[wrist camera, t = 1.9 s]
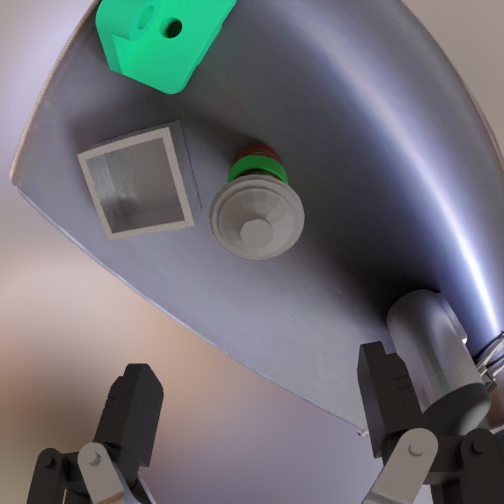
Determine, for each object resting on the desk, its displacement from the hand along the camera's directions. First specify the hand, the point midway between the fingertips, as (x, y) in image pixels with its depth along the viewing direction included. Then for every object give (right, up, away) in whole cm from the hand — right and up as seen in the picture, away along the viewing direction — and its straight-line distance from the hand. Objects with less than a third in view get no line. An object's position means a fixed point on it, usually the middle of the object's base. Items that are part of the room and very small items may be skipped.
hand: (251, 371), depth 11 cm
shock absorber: (+1, +14, +21) cm, 25 cm away
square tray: (-11, +13, +22) cm, 28 cm away
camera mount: (-7, +26, +14) cm, 30 cm away
